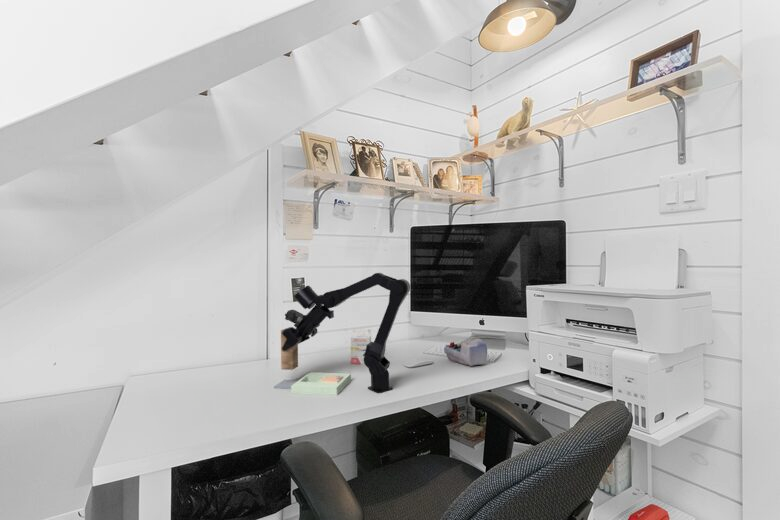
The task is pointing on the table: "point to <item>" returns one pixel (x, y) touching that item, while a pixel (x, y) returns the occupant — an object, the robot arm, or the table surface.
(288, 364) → the walnut block
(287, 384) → the grey mat
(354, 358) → the ink cartridge box
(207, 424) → the table surface
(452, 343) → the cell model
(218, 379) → the table surface
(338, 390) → the puzzle board
